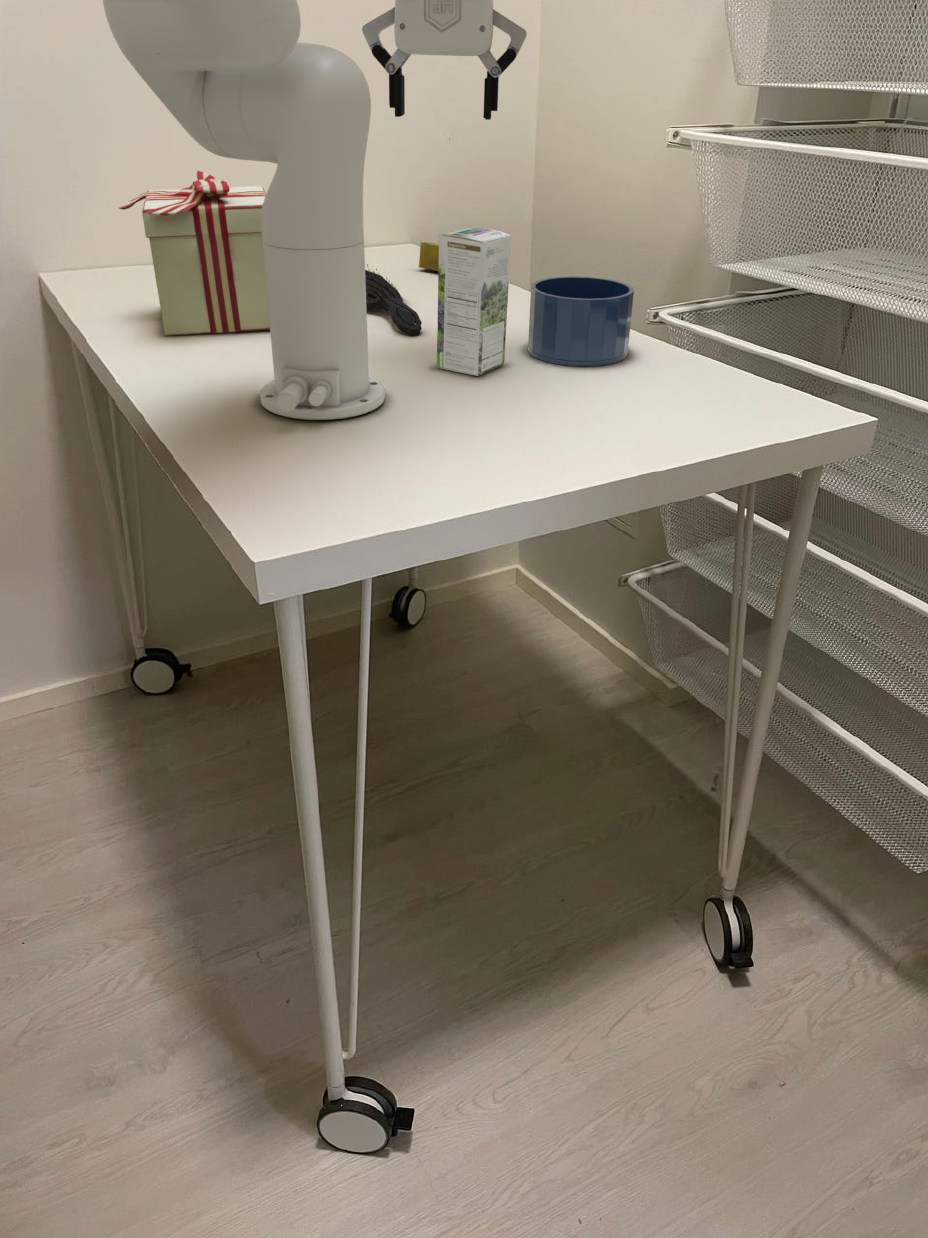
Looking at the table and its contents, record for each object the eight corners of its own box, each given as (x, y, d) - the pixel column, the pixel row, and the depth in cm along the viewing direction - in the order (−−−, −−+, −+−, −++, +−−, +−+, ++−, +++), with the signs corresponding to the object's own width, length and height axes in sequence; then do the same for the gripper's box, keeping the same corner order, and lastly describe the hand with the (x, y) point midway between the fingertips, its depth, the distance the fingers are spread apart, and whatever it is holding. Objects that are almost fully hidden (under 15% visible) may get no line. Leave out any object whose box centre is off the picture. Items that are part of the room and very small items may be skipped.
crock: (629, 368, 112) (636, 301, 108) (525, 363, 112) (529, 297, 109) (624, 340, 122) (631, 278, 118) (530, 336, 123) (533, 274, 119)
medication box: (489, 279, 151) (492, 251, 149) (479, 280, 149) (482, 252, 147) (427, 266, 156) (429, 239, 155) (417, 267, 154) (419, 240, 153)
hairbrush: (383, 315, 119) (328, 264, 138) (383, 345, 121) (329, 290, 140) (446, 310, 122) (384, 260, 141) (445, 339, 124) (384, 286, 143)
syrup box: (463, 356, 115) (465, 225, 107) (506, 365, 112) (512, 231, 104) (436, 368, 110) (436, 232, 103) (479, 377, 108) (483, 239, 100)
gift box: (134, 310, 131) (112, 169, 122) (272, 301, 136) (261, 166, 127) (140, 344, 117) (115, 188, 108) (293, 333, 122) (282, 183, 113)
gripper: (354, -81, 95) (359, 116, 104) (531, -77, 94) (521, 122, 103) (366, -72, 102) (370, 113, 110) (532, -68, 101) (523, 117, 110)
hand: (443, 117), depth 107 cm, fingers open, 9 cm apart
